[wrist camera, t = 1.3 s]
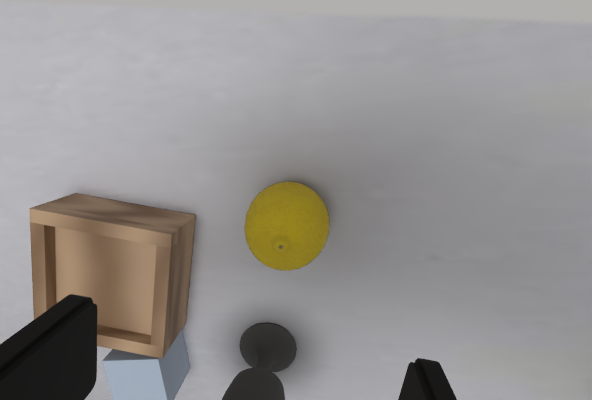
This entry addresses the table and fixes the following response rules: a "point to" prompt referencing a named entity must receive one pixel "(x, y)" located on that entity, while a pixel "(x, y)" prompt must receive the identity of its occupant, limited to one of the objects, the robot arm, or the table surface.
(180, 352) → the slate cube
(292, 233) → the lemon
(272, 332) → the sundae
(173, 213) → the wooden open box
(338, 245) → the table surface
